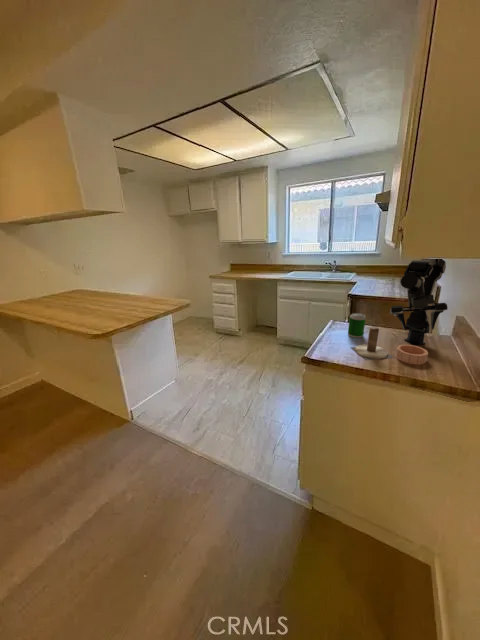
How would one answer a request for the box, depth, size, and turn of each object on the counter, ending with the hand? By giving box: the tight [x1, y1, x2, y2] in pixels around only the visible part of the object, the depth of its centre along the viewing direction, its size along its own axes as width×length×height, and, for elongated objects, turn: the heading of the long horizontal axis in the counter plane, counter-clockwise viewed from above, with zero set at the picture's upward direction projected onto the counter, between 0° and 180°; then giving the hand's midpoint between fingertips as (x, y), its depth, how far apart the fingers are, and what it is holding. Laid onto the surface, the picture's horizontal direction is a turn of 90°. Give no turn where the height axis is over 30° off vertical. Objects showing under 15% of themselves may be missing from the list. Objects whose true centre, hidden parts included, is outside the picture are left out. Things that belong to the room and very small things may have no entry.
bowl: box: [394, 344, 429, 366], centre depth 112 cm, size 11×11×4 cm
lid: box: [354, 326, 389, 360], centre depth 117 cm, size 13×13×12 cm
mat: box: [349, 346, 395, 361], centre depth 119 cm, size 13×13×1 cm
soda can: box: [347, 312, 367, 339], centre depth 137 cm, size 8×8×12 cm
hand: (418, 330), depth 106 cm, fingers open, 9 cm apart
